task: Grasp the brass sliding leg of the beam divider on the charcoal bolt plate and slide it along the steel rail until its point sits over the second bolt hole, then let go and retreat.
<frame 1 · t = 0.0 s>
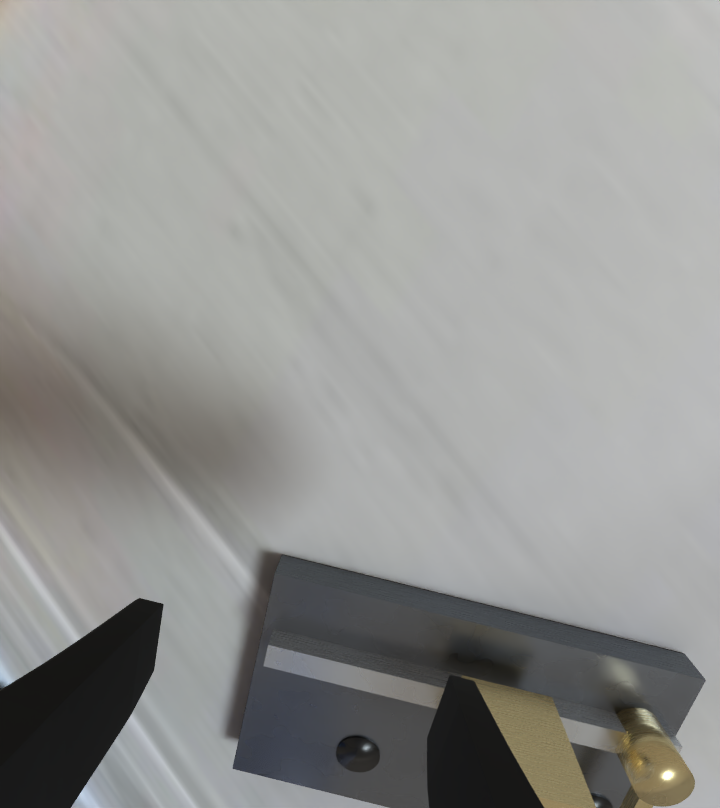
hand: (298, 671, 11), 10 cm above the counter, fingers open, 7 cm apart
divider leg: (488, 793, 19), point 5 cm above the counter, slide at 0.0 cm
bolt plate: (448, 700, 23), on the counter
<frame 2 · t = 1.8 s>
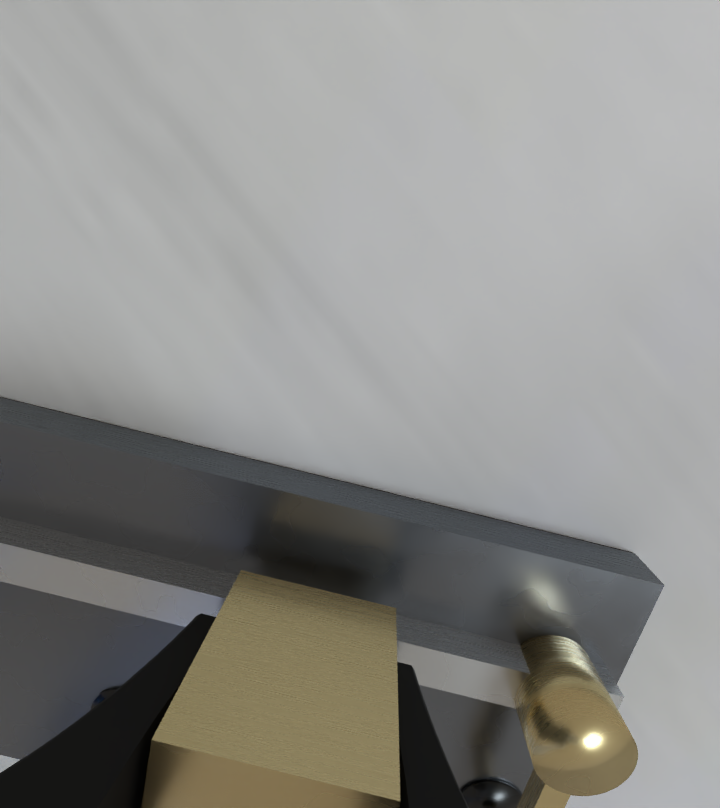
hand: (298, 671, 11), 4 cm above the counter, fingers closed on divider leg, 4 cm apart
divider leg: (273, 773, 11), point 5 cm above the counter, slide at 0.0 cm, touching gripper
bolt plate: (275, 635, 15), on the counter
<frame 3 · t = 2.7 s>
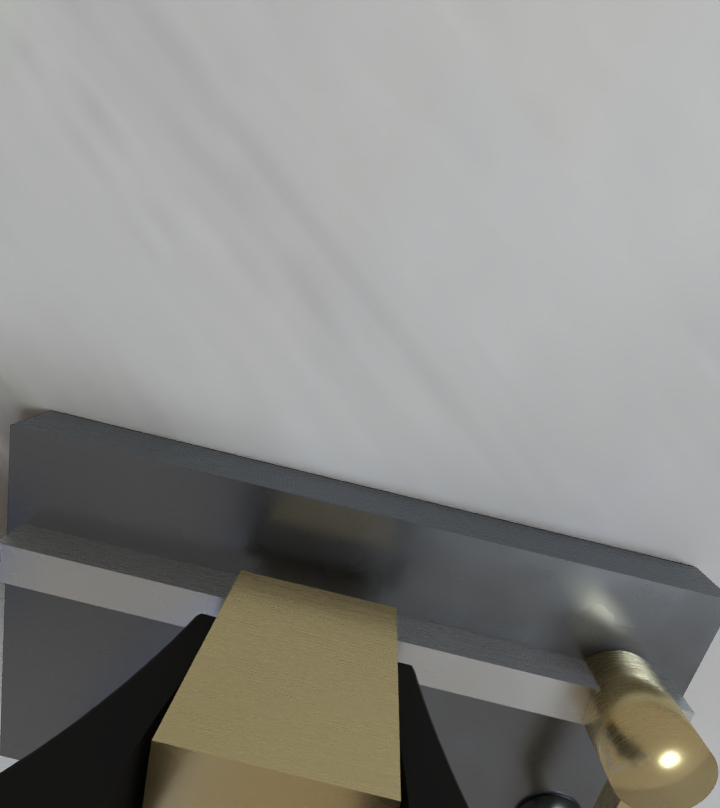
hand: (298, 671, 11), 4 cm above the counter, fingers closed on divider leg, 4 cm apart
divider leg: (274, 773, 11), point 5 cm above the counter, slide at 1.9 cm, touching gripper
bolt plate: (330, 648, 15), on the counter
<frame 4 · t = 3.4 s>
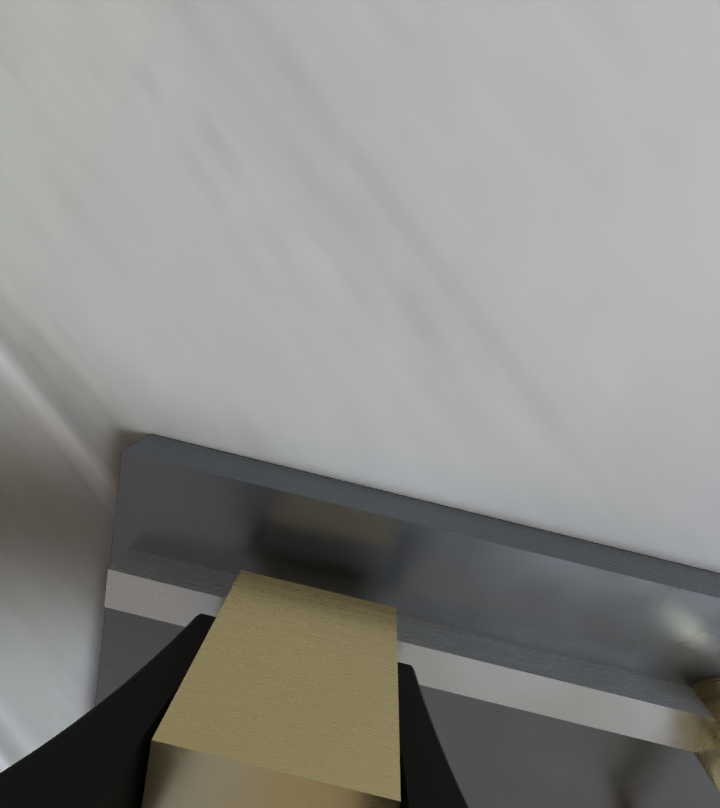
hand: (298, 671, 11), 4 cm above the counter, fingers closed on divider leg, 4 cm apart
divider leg: (273, 773, 11), point 5 cm above the counter, slide at 5.0 cm, touching gripper
bolt plate: (420, 670, 15), on the counter
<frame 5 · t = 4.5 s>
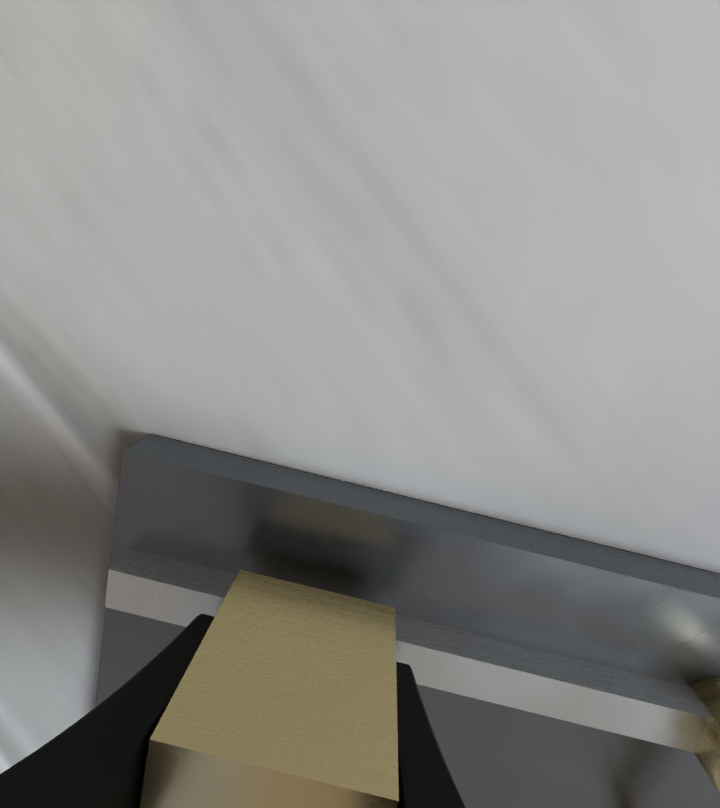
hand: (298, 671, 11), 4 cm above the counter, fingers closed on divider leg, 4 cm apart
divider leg: (272, 772, 11), point 5 cm above the counter, slide at 5.0 cm, touching gripper
bolt plate: (420, 670, 15), on the counter
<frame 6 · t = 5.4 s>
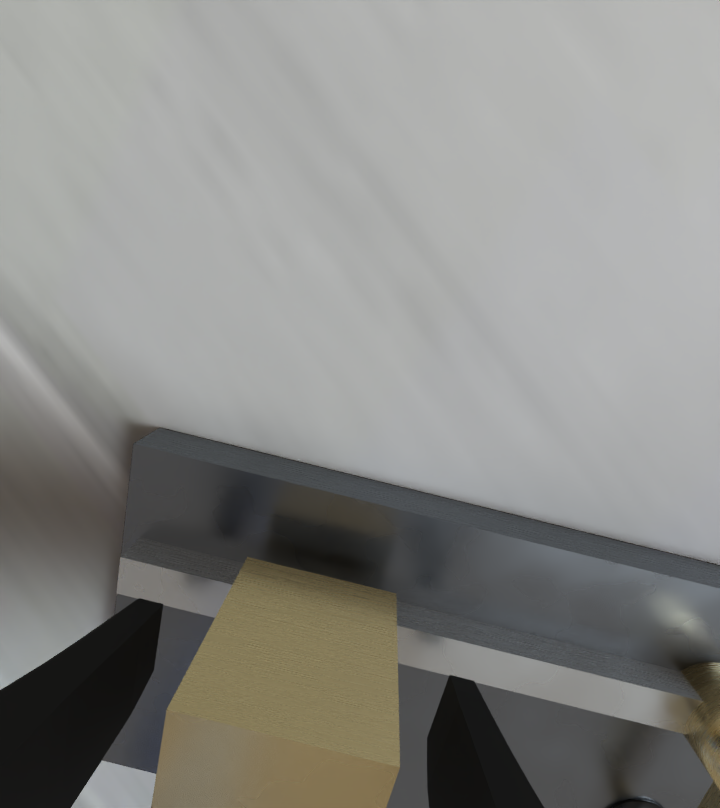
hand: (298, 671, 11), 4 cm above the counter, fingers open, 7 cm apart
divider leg: (278, 750, 11), point 5 cm above the counter, slide at 5.0 cm
bolt plate: (420, 657, 16), on the counter
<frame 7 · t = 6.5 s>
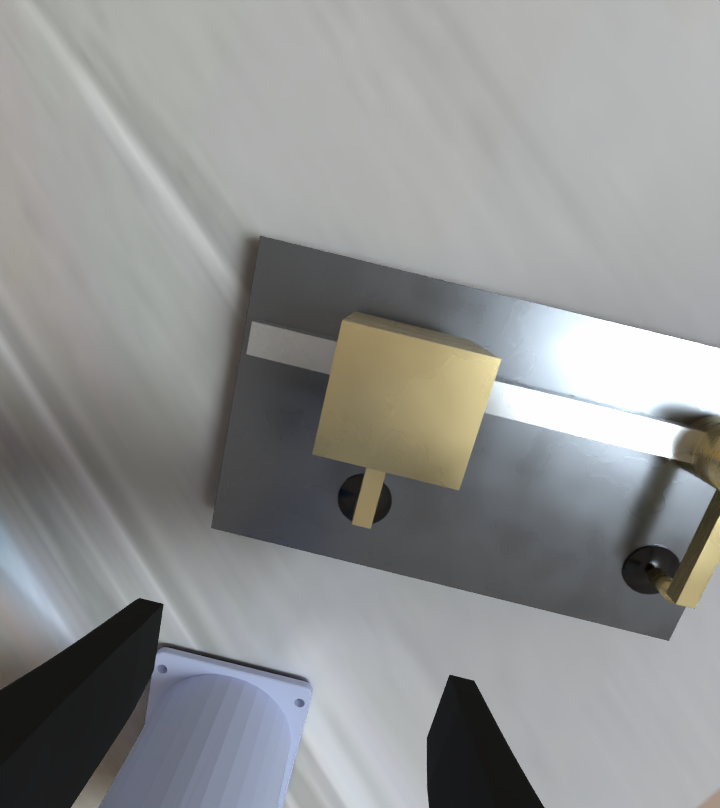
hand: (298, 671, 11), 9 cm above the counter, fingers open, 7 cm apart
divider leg: (384, 446, 15), point 5 cm above the counter, slide at 5.0 cm
bolt plate: (474, 442, 19), on the counter
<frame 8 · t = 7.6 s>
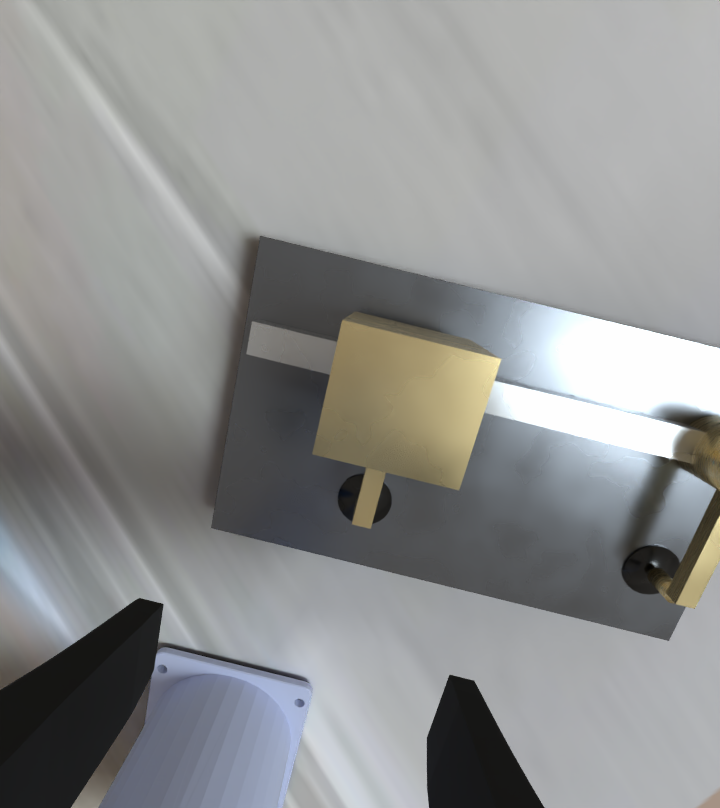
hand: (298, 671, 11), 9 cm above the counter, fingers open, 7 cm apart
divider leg: (384, 446, 15), point 5 cm above the counter, slide at 5.0 cm
bolt plate: (474, 442, 19), on the counter
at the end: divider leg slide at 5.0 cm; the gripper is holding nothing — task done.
